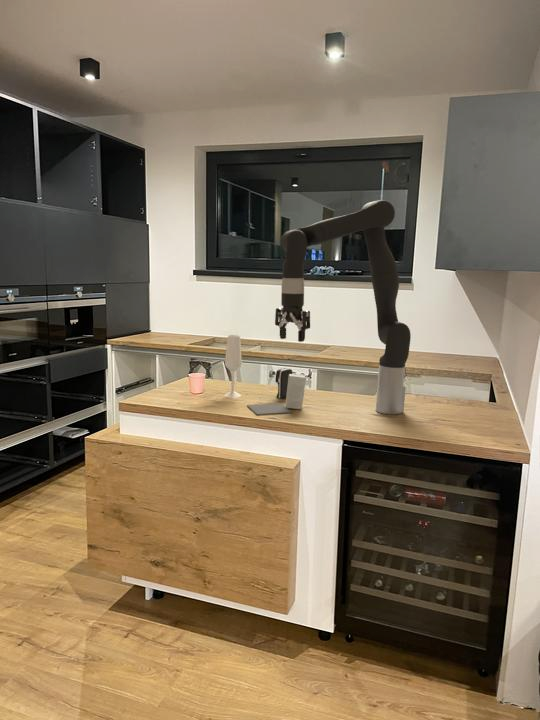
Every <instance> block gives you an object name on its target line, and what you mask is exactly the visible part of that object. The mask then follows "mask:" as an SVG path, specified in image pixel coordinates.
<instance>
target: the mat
mask: <svg viewBox="0 0 540 720" xmlns="http://www.w3.org/2000/svg"><path fill="white" fill-rule="evenodd" d="M246 406H247V408H248V409H250V411H252V413H254V414H255V416H267V415H270V414H271V415H282V414H292V413H293V411H292V410H290V408H286V405H283V404H282V403H281V402H274V403H273V402H272V403H255V404H254V403H253V404H247V405H246Z"/></svg>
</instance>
